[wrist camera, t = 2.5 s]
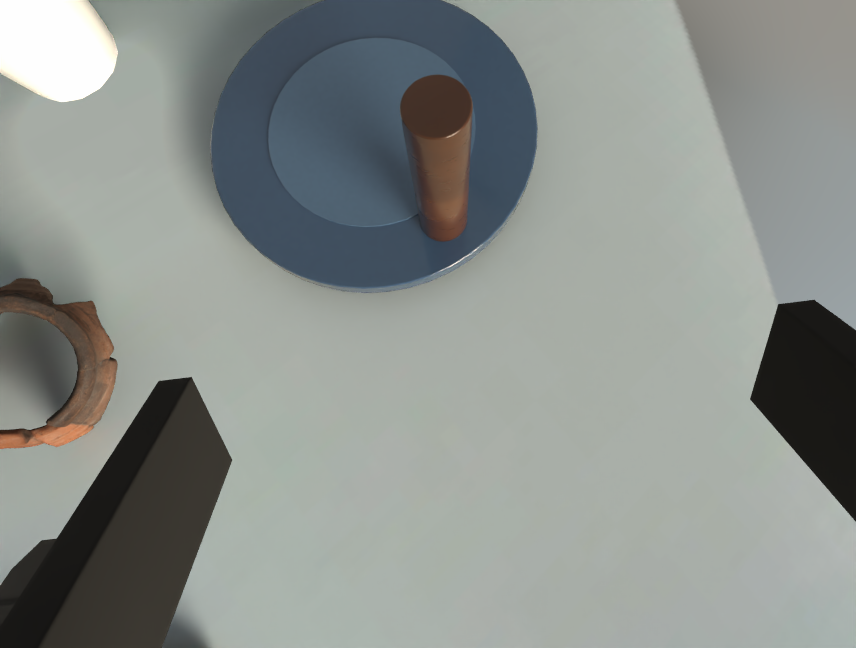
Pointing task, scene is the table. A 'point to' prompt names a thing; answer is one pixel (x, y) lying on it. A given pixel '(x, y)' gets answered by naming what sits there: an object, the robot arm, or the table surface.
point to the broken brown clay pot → (91, 359)
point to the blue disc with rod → (374, 142)
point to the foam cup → (55, 47)
